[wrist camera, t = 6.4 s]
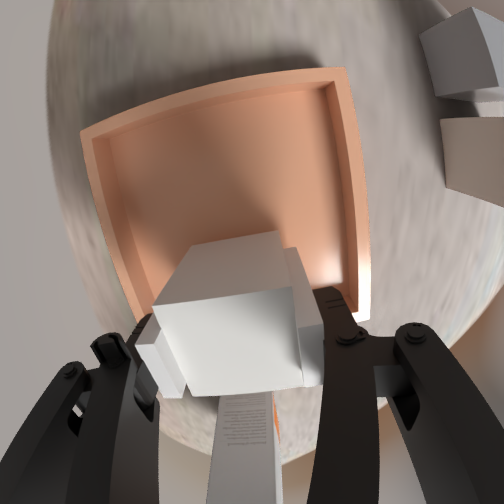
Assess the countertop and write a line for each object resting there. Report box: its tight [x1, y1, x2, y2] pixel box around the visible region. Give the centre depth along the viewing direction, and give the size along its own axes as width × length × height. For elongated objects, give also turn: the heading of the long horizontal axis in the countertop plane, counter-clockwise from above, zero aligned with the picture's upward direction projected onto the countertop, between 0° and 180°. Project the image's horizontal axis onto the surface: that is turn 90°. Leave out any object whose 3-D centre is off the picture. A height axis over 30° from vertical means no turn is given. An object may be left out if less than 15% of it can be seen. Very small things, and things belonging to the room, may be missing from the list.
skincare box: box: [206, 391, 283, 504], centre depth 15 cm, size 6×4×12 cm
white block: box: [152, 230, 304, 396], centre depth 12 cm, size 4×4×6 cm
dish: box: [80, 67, 371, 323], centre depth 14 cm, size 13×13×2 cm
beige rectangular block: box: [439, 117, 504, 208], centre depth 10 cm, size 4×4×6 cm
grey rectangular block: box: [418, 7, 504, 103], centre depth 8 cm, size 4×4×6 cm
